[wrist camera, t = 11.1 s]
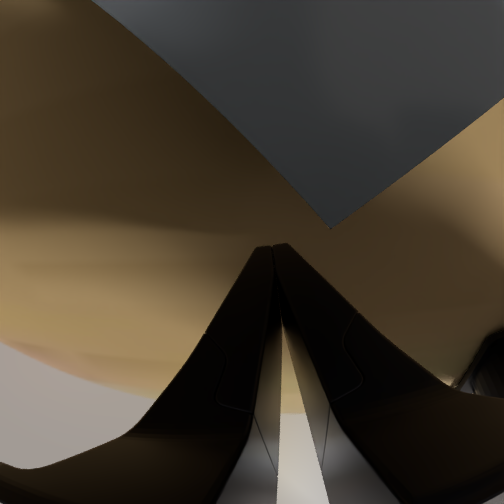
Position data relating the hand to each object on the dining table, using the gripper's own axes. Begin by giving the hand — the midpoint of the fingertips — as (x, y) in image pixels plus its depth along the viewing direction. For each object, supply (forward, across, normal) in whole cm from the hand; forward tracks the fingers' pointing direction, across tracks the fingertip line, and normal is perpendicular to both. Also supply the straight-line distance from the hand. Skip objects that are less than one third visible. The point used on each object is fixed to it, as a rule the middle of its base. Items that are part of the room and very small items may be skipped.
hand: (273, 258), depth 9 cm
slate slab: (+1, 0, -9) cm, 9 cm away
